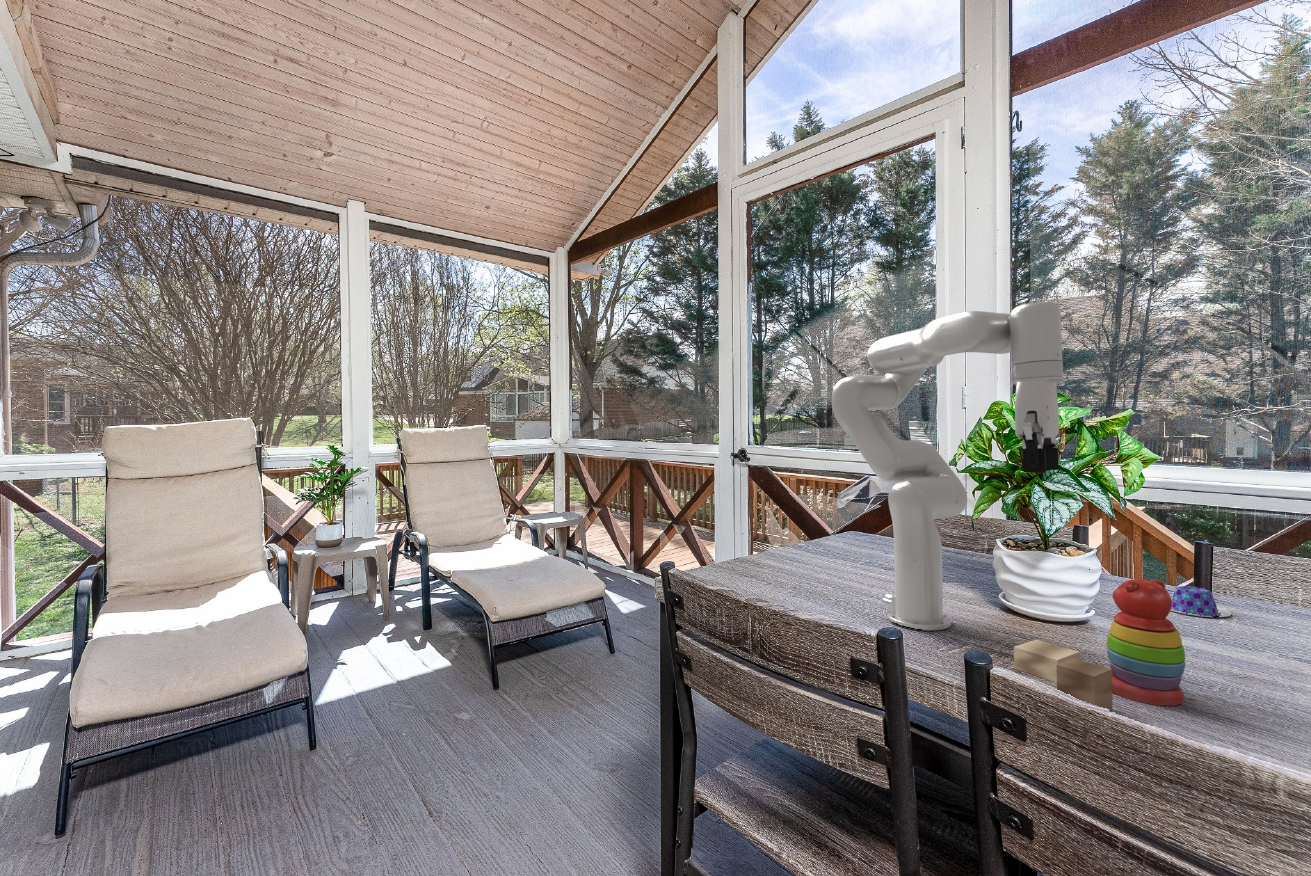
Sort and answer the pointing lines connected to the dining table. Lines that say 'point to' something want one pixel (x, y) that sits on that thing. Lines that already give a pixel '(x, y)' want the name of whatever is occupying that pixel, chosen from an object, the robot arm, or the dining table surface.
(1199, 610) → the blue patterned hat
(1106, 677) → the walnut block
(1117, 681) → the stacking bear
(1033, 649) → the oak block
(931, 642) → the dining table surface
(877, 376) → the robot arm
